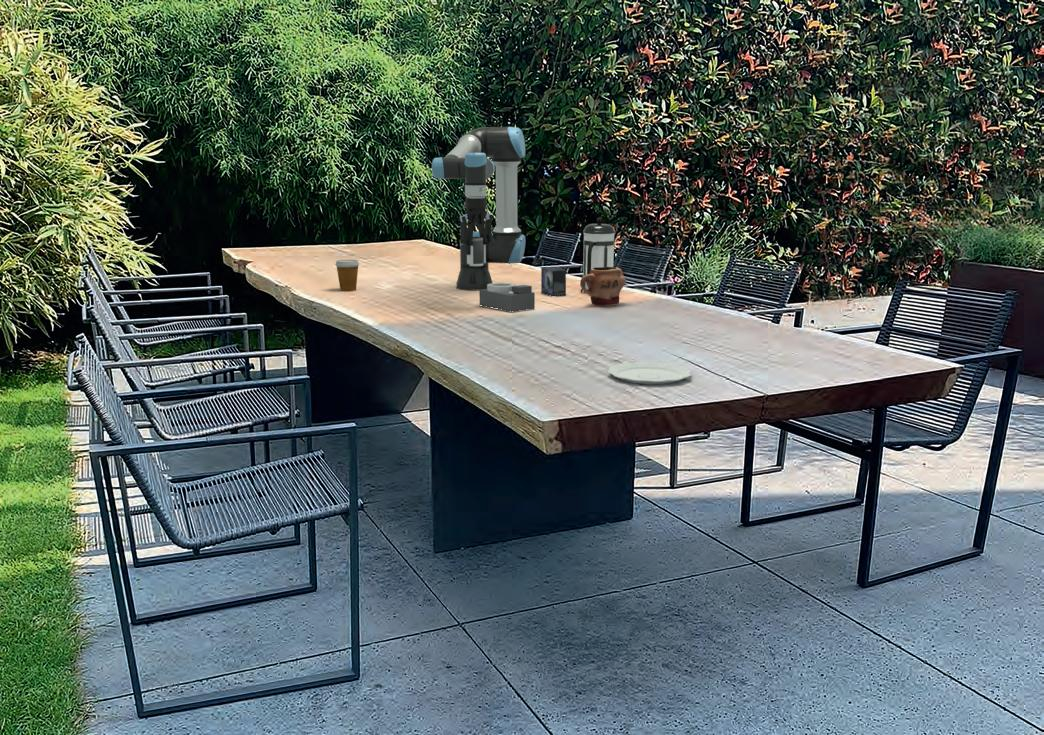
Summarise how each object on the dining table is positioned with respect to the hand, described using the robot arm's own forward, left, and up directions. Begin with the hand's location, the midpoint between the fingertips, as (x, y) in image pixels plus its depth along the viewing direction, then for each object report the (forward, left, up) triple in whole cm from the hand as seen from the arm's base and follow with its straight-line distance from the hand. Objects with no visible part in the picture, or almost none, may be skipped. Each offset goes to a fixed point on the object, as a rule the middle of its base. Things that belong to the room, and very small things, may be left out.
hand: (476, 263), depth 337 cm
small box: (-7, +44, -17) cm, 47 cm away
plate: (+111, -32, -17) cm, 117 cm away
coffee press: (+1, +61, -16) cm, 63 cm away
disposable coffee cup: (-68, -13, -16) cm, 71 cm away
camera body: (+6, +9, -16) cm, 20 cm away
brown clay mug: (+24, +40, -16) cm, 50 cm away
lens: (0, 0, -1) cm, 1 cm away
